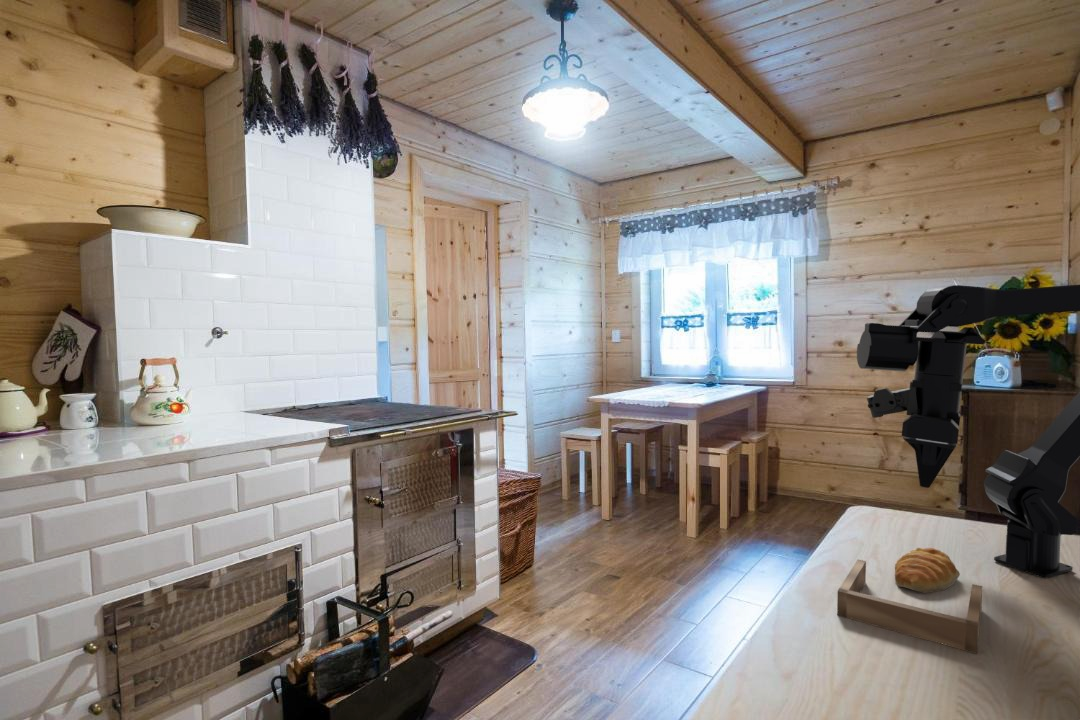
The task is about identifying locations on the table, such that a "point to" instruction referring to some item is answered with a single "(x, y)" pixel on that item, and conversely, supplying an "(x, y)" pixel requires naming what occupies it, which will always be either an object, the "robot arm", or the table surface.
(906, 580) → the pastry
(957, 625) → the wooden frame
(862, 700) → the table surface
